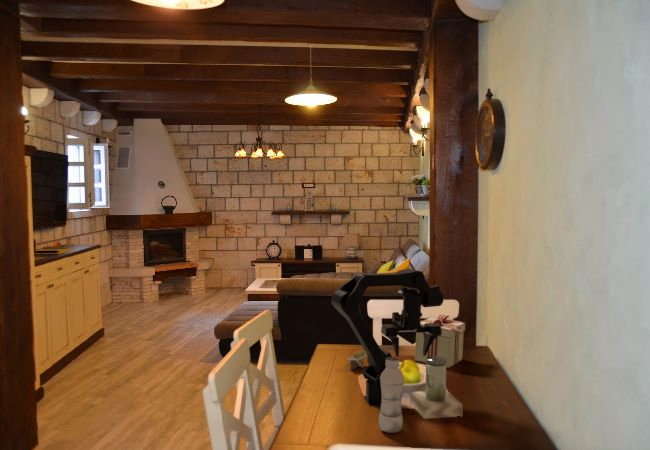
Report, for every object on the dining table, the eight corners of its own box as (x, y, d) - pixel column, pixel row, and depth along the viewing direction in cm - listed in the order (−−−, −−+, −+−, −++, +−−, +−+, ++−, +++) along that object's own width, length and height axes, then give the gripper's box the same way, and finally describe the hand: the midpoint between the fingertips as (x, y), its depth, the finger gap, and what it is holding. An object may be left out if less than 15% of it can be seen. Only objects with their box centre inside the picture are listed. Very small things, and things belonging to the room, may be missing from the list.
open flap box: (383, 366, 206) (383, 349, 205) (360, 378, 190) (360, 360, 190) (356, 360, 212) (356, 343, 212) (331, 372, 197) (331, 354, 197)
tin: (434, 403, 159) (435, 363, 158) (421, 396, 164) (421, 357, 164) (450, 399, 162) (450, 360, 162) (436, 392, 167) (436, 354, 167)
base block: (424, 418, 156) (424, 406, 156) (409, 402, 168) (410, 391, 168) (462, 416, 159) (462, 404, 158) (445, 400, 170) (446, 390, 170)
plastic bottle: (376, 425, 151) (378, 355, 150) (399, 425, 151) (401, 355, 150) (380, 436, 144) (382, 363, 143) (405, 435, 145) (407, 362, 144)
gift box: (459, 370, 201) (461, 325, 200) (412, 362, 210) (414, 318, 209) (471, 359, 215) (473, 316, 214) (427, 351, 225) (428, 310, 224)
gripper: (430, 302, 182) (428, 348, 183) (377, 303, 179) (375, 350, 180) (443, 309, 171) (441, 357, 172) (387, 311, 168) (385, 360, 169)
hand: (410, 356), depth 174 cm, fingers open, 9 cm apart
